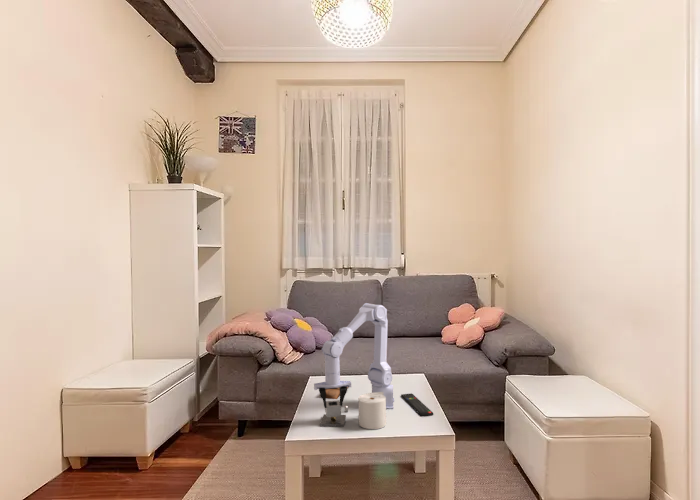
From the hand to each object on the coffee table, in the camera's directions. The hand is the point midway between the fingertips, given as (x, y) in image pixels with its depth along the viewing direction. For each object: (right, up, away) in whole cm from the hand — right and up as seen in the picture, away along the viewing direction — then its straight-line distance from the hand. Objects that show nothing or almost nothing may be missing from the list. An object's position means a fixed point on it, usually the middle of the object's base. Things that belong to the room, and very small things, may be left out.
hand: (333, 406), depth 166 cm
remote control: (+35, -6, +15) cm, 39 cm away
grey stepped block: (0, -3, 0) cm, 3 cm away
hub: (0, -6, 0) cm, 6 cm away
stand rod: (+5, -6, +10) cm, 12 cm away
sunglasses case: (0, -6, +33) cm, 34 cm away
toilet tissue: (+15, -6, -2) cm, 17 cm away
